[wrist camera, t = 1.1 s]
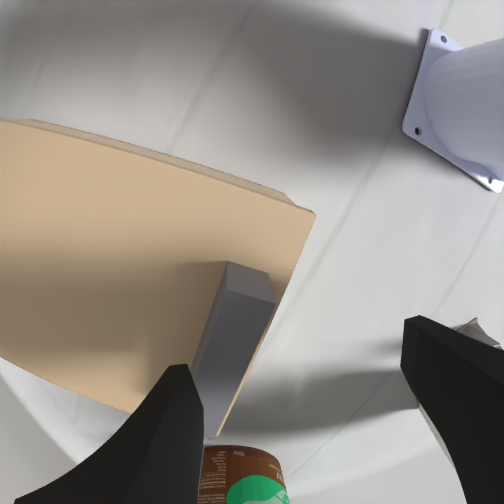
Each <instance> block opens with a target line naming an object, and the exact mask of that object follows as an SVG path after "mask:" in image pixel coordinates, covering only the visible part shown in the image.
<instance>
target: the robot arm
mask: <svg viewBox="0 0 504 504" xmlns="http://www.w3.org/2000/svg"><path fill="white" fill-rule="evenodd" d="M441 38H442V39H443V41H444V42H442V40H441ZM415 128H417V129H418V135H416V134H415ZM402 130H403V132H404V133H405V134H406V135H408V136H409V137H411V138H413V139H415V140H416V141H418V142H420V143H421V144H423V145H425V146H426V147H428V148H430V149H431V150H433V151H434V152H436V153H438V154H439V155H441V156H442V157H444V158H445V159H447V160H449V161H450V162H452V163H453V164H455V165H456V166H458V167H459V168H461V169H462V170H463V171H465V172H466V173H468V174H469V175H471V176H472V177H473V178H475V179H476V180H478V181H479V182H480V183H482V184H483V185H485V186H486V187H487V188H489V189H490V190H491V191H493V192H495V193H499V192H500V191H501V189H502V186H503V183H504V38H502V39H498V40H494V41H490V42H486V43H483V44H479V45H475V46H472V47H468V48H465V49H464V48H463V47H462V46H460V45H459V44H458V43H456V42H455V41H454V40H452V39H451V38H450V37H448V36H447V35H446V34H444V33H443V32H441V31H440V30H438V29H436V28H434V29H432V30H430V31H429V34H428V38H427V42H426V46H425V50H424V53H423V57H422V61H421V64H420V68H419V71H418V75H417V78H416V82H415V85H414V88H413V92H412V95H411V98H410V101H409V104H408V108H407V111H406V114H405V117H404V120H403V123H402ZM488 178H489V182H488ZM400 367H401V369H402V371H403V373H404V376H405V378H406V380H407V382H408V384H409V386H410V388H411V390H412V392H413V393H414V395H415V396H416V398H417V399H418V401H419V403H420V404H421V406H422V407H423V409H424V410H425V412H426V413H427V415H428V417H429V418H430V420H431V421H432V423H433V424H434V426H435V428H436V429H437V431H438V432H439V434H440V436H441V438H442V439H443V441H444V443H445V445H446V447H447V450H448V452H449V454H450V457H451V459H452V461H453V464H454V466H455V469H456V471H457V474H458V477H459V479H460V482H461V485H462V488H463V492H464V495H465V498H466V502H467V504H504V350H501V349H498V348H495V347H493V346H490V345H487V344H485V343H482V342H480V341H477V340H475V339H473V338H470V337H468V336H466V335H464V334H461V333H459V332H457V331H455V330H453V329H450V328H448V327H446V326H444V325H442V324H440V323H438V322H435V321H433V320H431V319H429V318H426V317H423V316H421V315H418V316H415V317H412V318H408V319H405V320H404V333H403V345H402V355H401V364H400ZM203 439H204V407H203V405H202V402H201V399H200V397H199V394H198V392H197V389H196V386H195V384H194V381H193V378H192V376H191V373H190V370H189V367H188V365H187V364H178V365H169V367H168V368H167V369H166V370H165V372H164V373H163V374H162V376H161V377H160V378H159V380H158V381H157V383H156V384H155V385H154V387H153V388H152V389H151V391H150V392H149V393H148V395H147V396H146V397H145V399H144V400H143V401H142V402H141V404H140V405H139V406H138V408H137V409H136V410H135V411H134V412H133V413H132V415H131V416H130V417H129V418H128V419H127V420H126V422H125V423H124V424H123V425H122V426H121V427H120V428H119V429H118V431H117V432H116V433H115V434H114V435H113V436H112V437H111V438H110V439H109V440H108V441H106V442H105V443H104V444H103V445H102V446H101V447H100V448H99V449H98V450H97V451H95V452H94V453H93V454H92V455H90V456H89V457H88V458H86V459H85V460H84V461H83V462H81V463H80V464H79V465H77V466H76V467H75V468H74V469H72V470H70V471H69V472H68V473H66V474H64V475H63V476H61V477H60V478H58V479H56V480H55V481H53V482H51V483H49V484H47V485H46V486H44V487H42V488H40V489H37V490H35V491H33V492H31V493H29V494H26V495H24V496H22V497H20V498H17V499H15V502H14V504H198V484H199V475H200V466H201V457H202V448H203Z"/></svg>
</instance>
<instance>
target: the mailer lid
mask: <svg viewBox="0 0 504 504" xmlns="http://www.w3.org/2000/svg"><path fill="white" fill-rule="evenodd" d="M316 216H317V215H316V214H315V213H314V212H313V211H311V210H309V209H306V208H303V207H301V206H298V205H295V204H292V203H290V202H287V201H284V200H281V199H279V198H276V197H273V196H270V195H267V194H264V193H262V192H259V191H256V190H253V189H250V188H247V187H244V186H241V185H238V184H235V183H232V182H229V181H226V180H223V179H220V178H217V177H214V176H211V175H208V174H205V173H202V172H199V171H196V170H193V169H189V168H186V167H183V166H180V165H177V164H173V163H170V162H167V161H163V160H160V159H157V158H153V157H150V156H147V155H143V154H140V153H136V152H133V151H129V150H126V149H122V148H119V147H115V146H112V145H108V144H104V143H101V142H97V141H93V140H89V139H85V138H82V137H78V136H74V135H70V134H66V133H62V132H58V131H54V130H49V129H45V128H41V127H37V126H32V125H28V124H24V123H19V122H14V121H10V120H5V119H0V357H1V358H3V359H5V360H7V361H9V362H11V363H13V364H14V365H16V366H18V367H20V368H22V369H24V370H26V371H28V372H30V373H32V374H34V375H36V376H38V377H40V378H43V379H45V380H47V381H49V382H51V383H53V384H56V385H58V386H60V387H62V388H65V389H67V390H69V391H72V392H74V393H77V394H79V395H82V396H84V397H87V398H89V399H92V400H94V401H97V402H100V403H102V404H105V405H108V406H111V407H114V408H116V409H119V410H122V411H125V412H128V413H131V414H132V413H133V412H134V411H135V410H136V409H137V408H138V406H139V405H140V404H141V402H142V401H143V400H144V399H145V397H146V396H147V395H148V393H149V392H150V391H151V389H152V388H153V387H154V385H155V384H156V383H157V381H158V380H159V378H160V377H161V376H162V374H163V373H164V372H165V370H166V369H167V368H168V367H169V365H178V364H187V365H188V367H189V370H190V373H191V376H192V378H193V381H194V384H195V386H196V389H197V392H198V394H199V397H200V399H201V402H202V405H203V407H204V438H208V439H213V440H214V438H215V436H218V435H219V433H220V431H221V429H222V427H223V425H224V423H225V421H226V419H227V417H228V415H229V413H230V411H231V408H232V406H233V404H234V402H235V400H236V398H237V396H238V394H239V392H240V390H241V388H242V385H243V383H244V381H245V379H246V377H247V375H248V373H249V371H250V368H251V366H252V364H253V362H254V360H255V358H256V355H257V353H258V351H259V349H260V347H261V344H262V342H263V340H264V338H265V336H266V333H267V331H268V329H269V327H270V324H271V322H272V320H273V318H274V315H275V313H276V311H277V309H278V306H279V304H280V302H281V299H282V297H283V295H284V292H285V290H286V288H287V286H288V283H289V281H290V279H291V276H292V274H293V271H294V269H295V267H296V264H297V262H298V260H299V257H300V255H301V252H302V250H303V248H304V245H305V243H306V240H307V238H308V235H309V233H310V231H311V228H312V226H313V223H314V221H315V218H316Z"/></svg>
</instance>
